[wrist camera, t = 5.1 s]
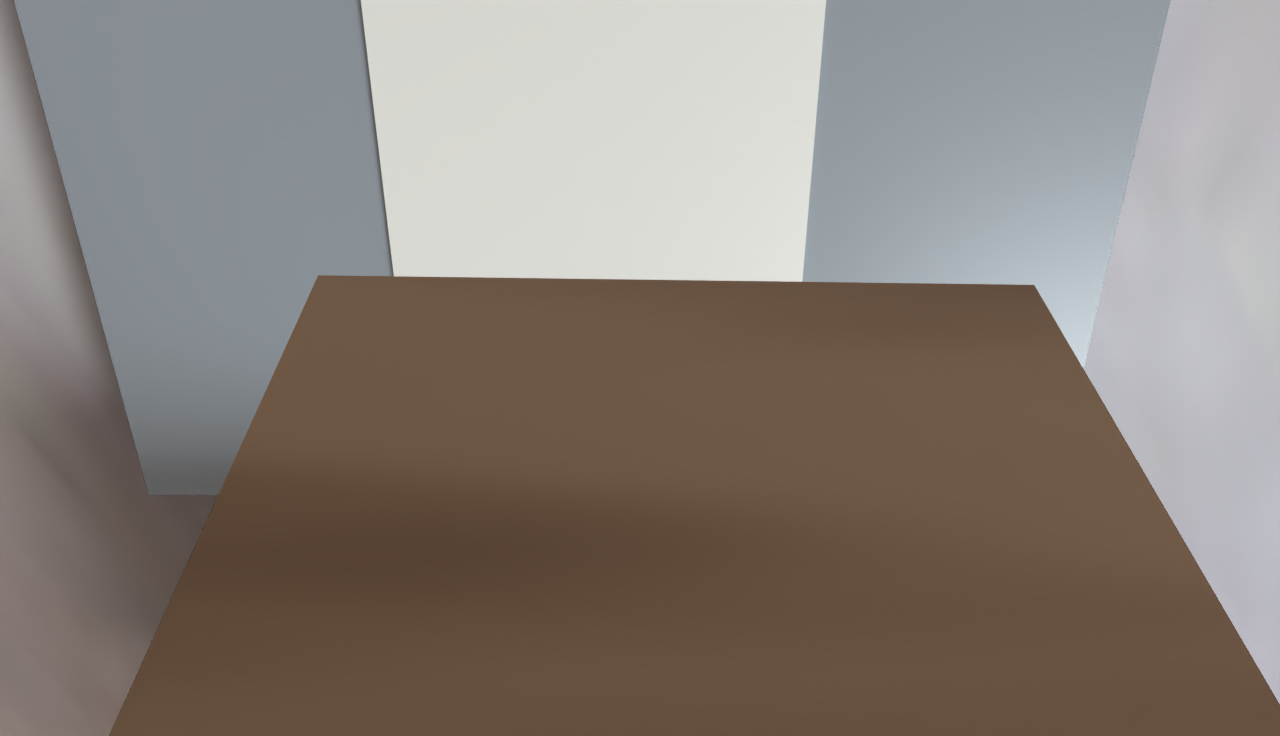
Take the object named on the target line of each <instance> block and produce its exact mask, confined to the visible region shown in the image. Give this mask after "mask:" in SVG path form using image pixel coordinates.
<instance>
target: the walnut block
mask: <svg viewBox="0 0 1280 736" xmlns="http://www.w3.org/2000/svg"><path fill="white" fill-rule="evenodd" d="M109 736H1280V704H1279V703H1278V701H1277V699H1276V698H1275V696H1274V694H1273V692H1272V691H1271V689H1270V687H1269V686H1268V684H1267V682H1266V680H1265V679H1264V677H1263V675H1262V674H1261V672H1260V670H1259V668H1258V667H1257V665H1256V663H1255V662H1254V660H1253V658H1252V657H1251V655H1250V653H1249V651H1248V650H1247V648H1246V646H1245V645H1244V643H1243V641H1242V639H1241V638H1240V636H1239V634H1238V633H1237V631H1236V629H1235V627H1234V626H1233V624H1232V622H1231V621H1230V619H1229V617H1228V615H1227V614H1226V612H1225V610H1224V609H1223V607H1222V605H1221V603H1220V602H1219V600H1218V598H1217V597H1216V595H1215V593H1214V591H1213V590H1212V588H1211V586H1210V585H1209V583H1208V581H1207V580H1206V578H1205V576H1204V574H1203V573H1202V571H1201V569H1200V568H1199V566H1198V564H1197V562H1196V561H1195V559H1194V557H1193V556H1192V554H1191V552H1190V550H1189V549H1188V547H1187V545H1186V544H1185V542H1184V540H1183V538H1182V537H1181V535H1180V533H1179V532H1178V530H1177V528H1176V526H1175V525H1174V523H1173V521H1172V520H1171V518H1170V516H1169V515H1168V513H1167V511H1166V509H1165V508H1164V506H1163V504H1162V503H1161V501H1160V499H1159V497H1158V496H1157V494H1156V492H1155V491H1154V489H1153V487H1152V485H1151V484H1150V482H1149V480H1148V479H1147V477H1146V475H1145V473H1144V472H1143V470H1142V468H1141V467H1140V465H1139V463H1138V461H1137V460H1136V458H1135V456H1134V455H1133V453H1132V451H1131V449H1130V448H1129V446H1128V444H1127V443H1126V441H1125V439H1124V438H1123V436H1122V434H1121V432H1120V431H1119V429H1118V427H1117V426H1116V424H1115V422H1114V420H1113V419H1112V417H1111V415H1110V414H1109V412H1108V410H1107V408H1106V407H1105V405H1104V403H1103V402H1102V400H1101V398H1100V396H1099V395H1098V393H1097V391H1096V390H1095V388H1094V386H1093V384H1092V383H1091V381H1090V379H1089V378H1088V376H1087V374H1086V373H1085V371H1084V369H1083V367H1082V366H1081V364H1080V362H1079V361H1078V359H1077V357H1076V355H1075V354H1074V352H1073V350H1072V349H1071V347H1070V345H1069V343H1068V342H1067V340H1066V338H1065V337H1064V335H1063V333H1062V331H1061V330H1060V328H1059V326H1058V325H1057V323H1056V321H1055V319H1054V318H1053V316H1052V314H1051V313H1050V311H1049V309H1048V307H1047V306H1046V304H1045V302H1044V301H1043V299H1042V297H1041V296H1040V294H1039V292H1038V290H1037V289H1036V287H1035V285H1010V284H935V283H860V282H785V281H710V280H634V279H559V278H484V277H409V276H334V275H318V277H317V279H316V281H315V283H314V286H313V288H312V290H311V292H310V294H309V297H308V299H307V301H306V303H305V305H304V308H303V310H302V312H301V314H300V316H299V319H298V321H297V323H296V325H295V327H294V330H293V332H292V334H291V336H290V338H289V341H288V343H287V345H286V347H285V349H284V352H283V354H282V356H281V358H280V360H279V363H278V365H277V367H276V369H275V371H274V374H273V376H272V378H271V380H270V382H269V385H268V387H267V389H266V391H265V393H264V396H263V398H262V400H261V402H260V404H259V407H258V409H257V411H256V413H255V416H254V418H253V420H252V422H251V424H250V427H249V429H248V431H247V433H246V435H245V438H244V440H243V442H242V444H241V446H240V449H239V451H238V453H237V455H236V457H235V460H234V462H233V464H232V466H231V468H230V471H229V473H228V475H227V477H226V479H225V482H224V484H223V486H222V488H221V490H220V493H219V495H218V497H217V499H216V501H215V504H214V506H213V508H212V510H211V512H210V515H209V517H208V519H207V521H206V523H205V526H204V528H203V530H202V532H201V534H200V537H199V539H198V541H197V543H196V545H195V548H194V550H193V552H192V554H191V557H190V559H189V561H188V563H187V565H186V568H185V570H184V572H183V574H182V576H181V579H180V581H179V583H178V585H177V587H176V590H175V592H174V594H173V596H172V598H171V601H170V603H169V605H168V607H167V609H166V612H165V614H164V616H163V618H162V620H161V623H160V625H159V627H158V629H157V631H156V634H155V636H154V638H153V640H152V642H151V645H150V647H149V649H148V651H147V653H146V656H145V658H144V660H143V662H142V664H141V667H140V669H139V671H138V673H137V675H136V678H135V680H134V682H133V684H132V686H131V689H130V691H129V693H128V695H127V697H126V700H125V702H124V704H123V706H122V709H121V711H120V713H119V715H118V717H117V720H116V722H115V724H114V726H113V728H112V731H111V733H110V735H109Z"/></svg>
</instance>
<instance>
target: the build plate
mask: <svg viewBox="0 0 1280 736" xmlns="http://www.w3.org/2000/svg"><path fill="white" fill-rule="evenodd" d="M14 3H15V7H16V10H17V14H18V18H19V21H20V25H21V29H22V32H23V36H24V40H25V43H26V47H27V51H28V54H29V58H30V62H31V65H32V69H33V73H34V76H35V80H36V84H37V87H38V91H39V95H40V98H41V102H42V106H43V109H44V113H45V117H46V120H47V124H48V128H49V131H50V135H51V139H52V142H53V146H54V150H55V153H56V157H57V161H58V164H59V168H60V172H61V175H62V179H63V183H64V186H65V190H66V194H67V197H68V201H69V205H70V208H71V212H72V216H73V219H74V223H75V227H76V230H77V234H78V238H79V242H80V245H81V249H82V253H83V256H84V260H85V264H86V267H87V271H88V275H89V278H90V282H91V286H92V289H93V293H94V297H95V300H96V304H97V308H98V311H99V315H100V319H101V322H102V326H103V330H104V333H105V337H106V341H107V344H108V348H109V352H110V355H111V359H112V363H113V366H114V370H115V374H116V377H117V381H118V385H119V388H120V392H121V396H122V399H123V403H124V407H125V410H126V414H127V418H128V421H129V425H130V429H131V432H132V436H133V440H134V443H135V447H136V451H137V454H138V458H139V462H140V465H141V469H142V473H143V476H144V480H145V484H146V487H147V491H148V495H219V493H220V490H221V488H222V486H223V484H224V482H225V479H226V477H227V475H228V473H229V471H230V468H231V466H232V464H233V462H234V460H235V457H236V455H237V453H238V451H239V449H240V446H241V444H242V442H243V440H244V438H245V435H246V433H247V431H248V429H249V427H250V424H251V422H252V420H253V418H254V416H255V413H256V411H257V409H258V407H259V404H260V402H261V400H262V398H263V396H264V393H265V391H266V389H267V387H268V385H269V382H270V380H271V378H272V376H273V374H274V371H275V369H276V367H277V365H278V363H279V360H280V358H281V356H282V354H283V352H284V349H285V347H286V345H287V343H288V341H289V338H290V336H291V334H292V332H293V330H294V327H295V325H296V323H297V321H298V319H299V316H300V314H301V312H302V310H303V308H304V305H305V303H306V301H307V299H308V297H309V294H310V292H311V290H312V288H313V286H314V283H315V281H316V279H317V277H318V275H334V276H409V277H484V278H559V279H634V280H710V281H785V282H860V283H935V284H1010V285H1035V287H1036V289H1037V290H1038V292H1039V294H1040V296H1041V297H1042V299H1043V301H1044V302H1045V304H1046V306H1047V307H1048V309H1049V311H1050V313H1051V314H1052V316H1053V318H1054V319H1055V321H1056V323H1057V325H1058V326H1059V328H1060V330H1061V331H1062V333H1063V335H1064V337H1065V338H1066V340H1067V342H1068V343H1069V345H1070V347H1071V349H1072V350H1073V352H1074V354H1075V355H1076V357H1077V359H1078V361H1079V362H1080V364H1081V366H1082V367H1083V368H1084V364H1085V360H1086V355H1087V351H1088V347H1089V343H1090V339H1091V334H1092V330H1093V326H1094V322H1095V317H1096V313H1097V309H1098V305H1099V300H1100V296H1101V292H1102V288H1103V283H1104V279H1105V275H1106V271H1107V267H1108V262H1109V258H1110V254H1111V250H1112V245H1113V241H1114V237H1115V233H1116V228H1117V224H1118V220H1119V216H1120V212H1121V207H1122V203H1123V199H1124V195H1125V190H1126V186H1127V182H1128V178H1129V173H1130V169H1131V165H1132V161H1133V156H1134V152H1135V148H1136V144H1137V140H1138V135H1139V131H1140V127H1141V123H1142V118H1143V114H1144V110H1145V106H1146V101H1147V97H1148V93H1149V89H1150V85H1151V80H1152V76H1153V72H1154V68H1155V63H1156V59H1157V55H1158V51H1159V46H1160V42H1161V38H1162V34H1163V29H1164V25H1165V21H1166V17H1167V13H1168V8H1169V4H1170V0H14Z"/></svg>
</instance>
